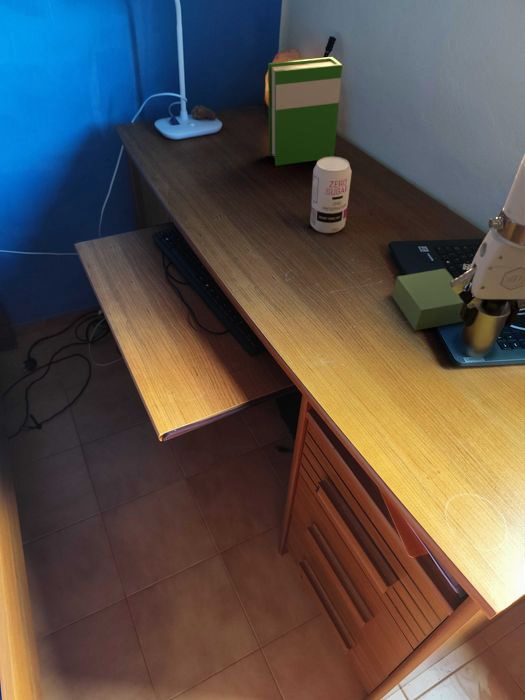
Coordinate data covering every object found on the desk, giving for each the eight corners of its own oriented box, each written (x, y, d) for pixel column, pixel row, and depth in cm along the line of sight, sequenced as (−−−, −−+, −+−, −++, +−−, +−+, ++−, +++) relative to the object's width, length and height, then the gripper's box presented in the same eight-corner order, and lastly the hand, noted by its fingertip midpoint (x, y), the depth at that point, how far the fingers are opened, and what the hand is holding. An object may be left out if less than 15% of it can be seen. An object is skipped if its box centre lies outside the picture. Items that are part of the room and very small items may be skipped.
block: (438, 288, 93) (444, 268, 90) (464, 321, 87) (472, 300, 83) (392, 296, 92) (396, 276, 88) (415, 330, 85) (421, 310, 82)
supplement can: (325, 212, 115) (330, 152, 104) (351, 225, 110) (360, 163, 100) (303, 225, 111) (306, 163, 100) (329, 238, 107) (335, 176, 96)
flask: (485, 334, 84) (507, 285, 76) (495, 358, 80) (520, 309, 72) (453, 334, 84) (472, 285, 76) (461, 358, 80) (482, 309, 72)
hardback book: (275, 165, 133) (275, 71, 116) (269, 155, 138) (268, 63, 121) (333, 157, 136) (342, 64, 119) (325, 147, 141) (332, 56, 124)
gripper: (472, 241, 63) (438, 336, 76) (603, 241, 62) (546, 337, 75) (457, 212, 68) (428, 306, 81) (578, 212, 67) (528, 306, 80)
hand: (485, 320), depth 78 cm, fingers closed on flask, 5 cm apart
